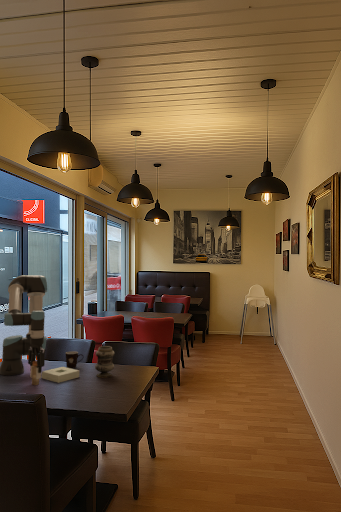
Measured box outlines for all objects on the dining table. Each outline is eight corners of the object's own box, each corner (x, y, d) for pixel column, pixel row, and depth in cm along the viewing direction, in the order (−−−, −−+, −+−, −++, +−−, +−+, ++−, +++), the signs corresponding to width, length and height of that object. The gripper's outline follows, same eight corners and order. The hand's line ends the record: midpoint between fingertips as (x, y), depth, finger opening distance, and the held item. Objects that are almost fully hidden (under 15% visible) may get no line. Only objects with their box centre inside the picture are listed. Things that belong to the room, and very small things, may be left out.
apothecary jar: (103, 379, 229) (104, 349, 230) (90, 376, 236) (91, 347, 237) (117, 375, 238) (118, 347, 239) (104, 372, 246) (105, 344, 247)
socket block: (41, 378, 229) (41, 371, 229) (62, 372, 242) (62, 366, 242) (58, 382, 220) (58, 375, 220) (79, 377, 233) (79, 370, 233)
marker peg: (30, 384, 216) (31, 361, 217) (36, 382, 219) (37, 360, 220) (34, 385, 214) (35, 362, 214) (40, 383, 217) (41, 361, 218)
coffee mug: (62, 368, 255) (62, 353, 255) (69, 365, 263) (69, 351, 264) (77, 369, 251) (77, 354, 252) (84, 366, 260) (84, 352, 260)
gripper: (22, 336, 220) (20, 376, 219) (41, 339, 210) (39, 381, 208) (33, 335, 226) (31, 373, 225) (52, 338, 216) (50, 378, 215)
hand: (35, 377), depth 217 cm, fingers open, 5 cm apart
